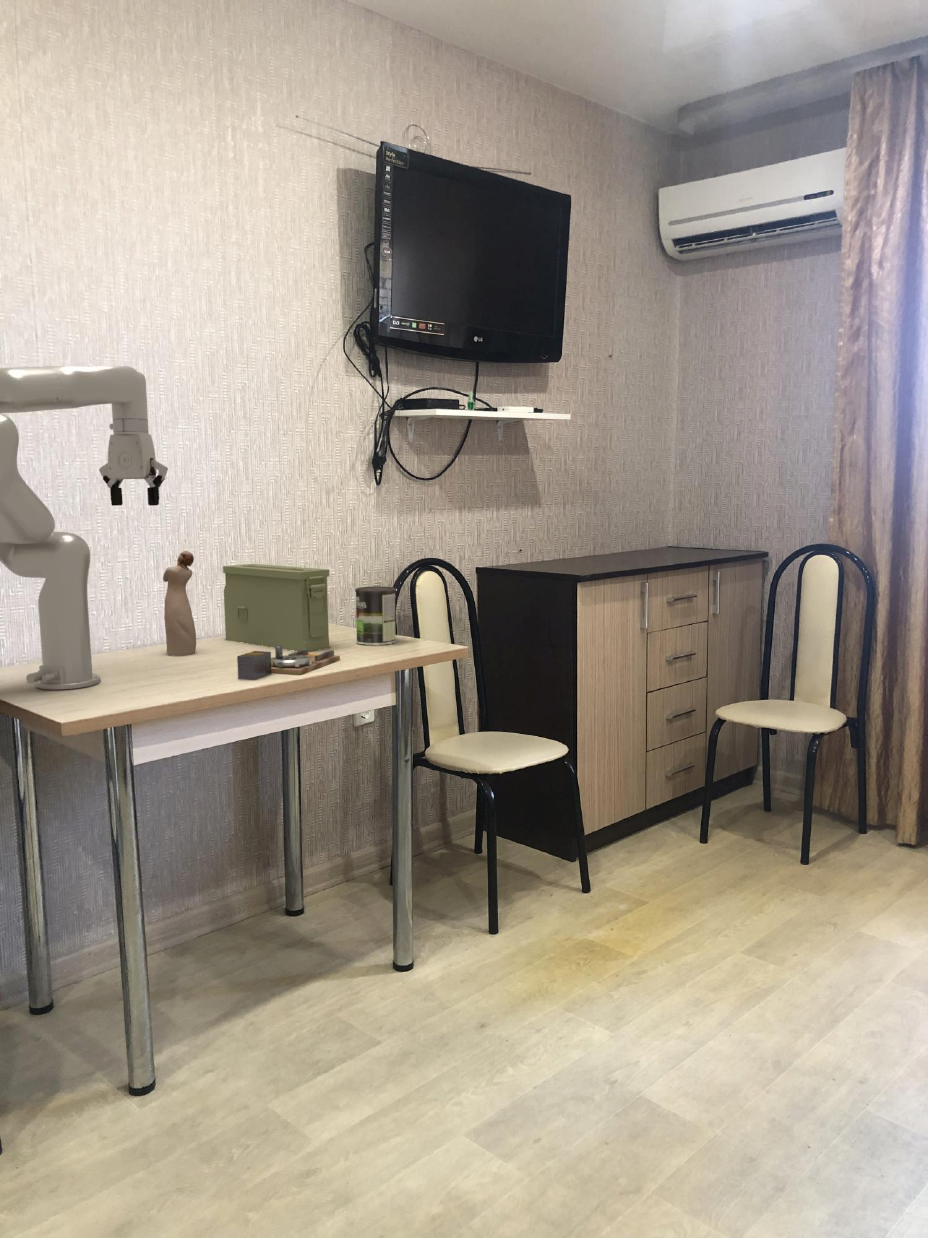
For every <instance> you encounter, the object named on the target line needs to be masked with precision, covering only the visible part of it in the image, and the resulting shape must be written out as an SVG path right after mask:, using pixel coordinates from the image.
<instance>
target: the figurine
mask: <svg viewBox="0 0 928 1238" xmlns="http://www.w3.org/2000/svg"><path fill="white" fill-rule="evenodd" d="M178 555H179V556H178V558H177V563H176V565H174V566H169V567H166V569H165V571H164V572H163V576H162V577H163V578H162V581H163V582H165V583H167V589H166V594H165V597H164V617H163V618H164V619H163V620H164V626H165V627H164V628H165V639H166V655H167V654H168V656H170V655H175V656H174V657H180V656H179V655H183V656H191V655H195V654H196V649H197V632H196V631H197V630H196V627H195V620H194V618H193V611H192V608H191V605H190V601H189V598H188V594H187V584H188V582H189V580H190V579H191V577H192V575H193V570H192V569H190V568H189V567H191V566H192V565H193V563H194V561H195V560H194V559H195V557H194V555H193V553H192V552H190V551H189V550H182V551H181V553H180V554H178ZM190 654H191V655H190Z"/></svg>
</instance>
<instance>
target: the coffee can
mask: <svg viewBox="0 0 928 1238" xmlns="http://www.w3.org/2000/svg"><path fill="white" fill-rule="evenodd" d="M354 592H355V614H356V615H355V617H356V618H355V619H356V620H355V621H356V624H355V625H356V642H357V643H358V644H357V643H356V644H357V645H360V644H366V645H365V646H369V645H381V646H384V645H383V644H390V645H393V644H392V643H394V644H396V643H397V642H396V588H395V587H392V586H363V587H362V586H361V587H357V588H355V589H354Z"/></svg>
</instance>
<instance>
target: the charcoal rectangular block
mask: <svg viewBox="0 0 928 1238" xmlns="http://www.w3.org/2000/svg"><path fill="white" fill-rule="evenodd" d="M271 658H272V652H271V651H267V650H266V651H263V650H253V651H250V652H246V653H243V654H240V655H237V656H236V659H237V680H245V681H246V680H249V681H256V680H259V679H262V678H264V677H267V676H270V675H273V673H272V671H271ZM258 678H259V679H258Z"/></svg>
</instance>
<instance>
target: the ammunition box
mask: <svg viewBox="0 0 928 1238" xmlns="http://www.w3.org/2000/svg"><path fill="white" fill-rule="evenodd" d="M222 574H225V575H224V577H225V579H224V580H225V585H224V589H223V603H224V607H223V608H224V626H225V629H224V631H225V638H224V640H225V641H228V642H234V641H235V642H234V643H240V642H243V643H242V644H246V643H248V645H253V644H255V645H254V646H259V645H263V646H262V647H265V646H266V647H267V648H271V647H274V648H273V649H275V646H282V650H284V649H287V650H286V651H290V650H294V651H293V652H296V651H300V650H303V649H308V653H310V651H311V652H314V651H313V650H317V651H320V650H319V649H322V650H326V649H325V648H328V647H331V645H330V635H329V634H330V633H329V602H328V599H329V598H328V595H329V594H328V577H330V569H328V568H327V569H326V568H315V567H302V566H300V567H299V566H289V565H288V566H287V565H274V564H265V563H264V564H263V563H261V564H260V563H245V564H244V563H243V564H234V565H232V564H231V565H223V566H222ZM266 647H265V648H266ZM328 649H329V648H328Z"/></svg>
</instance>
